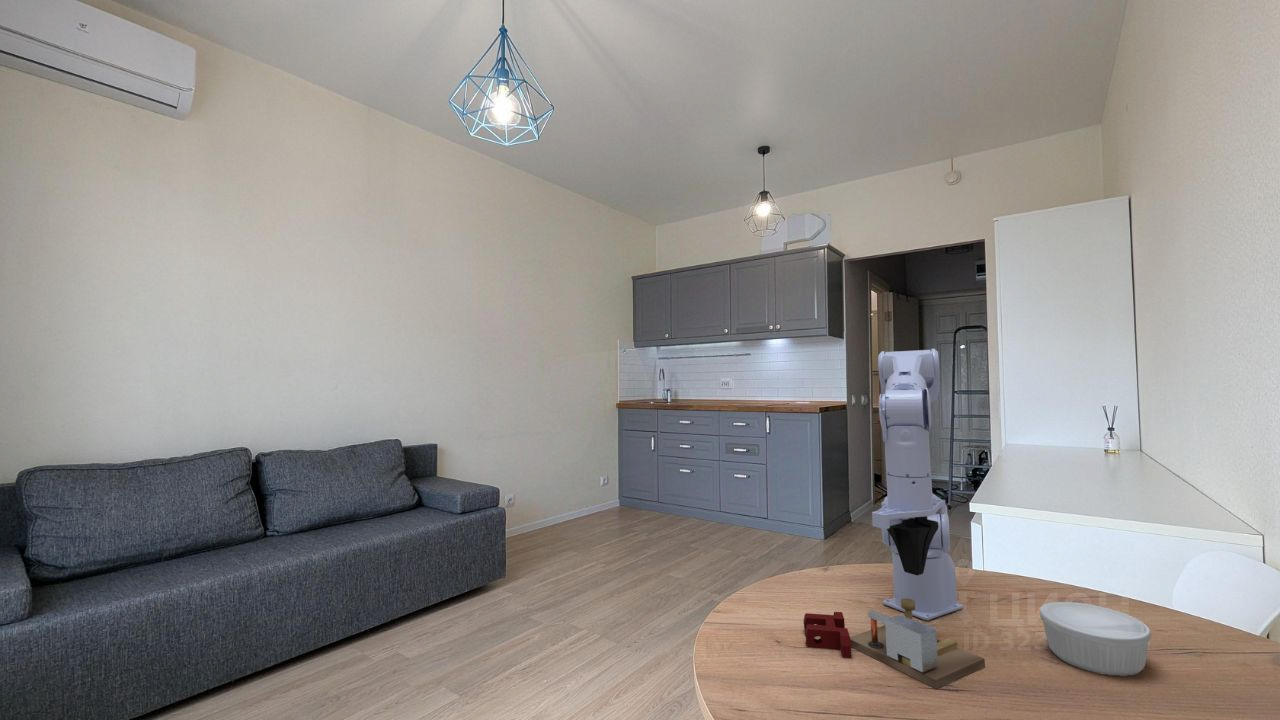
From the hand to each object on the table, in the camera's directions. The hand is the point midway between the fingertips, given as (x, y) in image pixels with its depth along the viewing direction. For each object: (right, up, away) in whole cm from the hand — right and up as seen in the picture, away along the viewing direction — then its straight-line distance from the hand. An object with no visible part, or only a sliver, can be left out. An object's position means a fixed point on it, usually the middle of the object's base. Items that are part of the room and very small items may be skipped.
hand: (913, 572), depth 76 cm
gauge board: (-2, -10, -3) cm, 10 cm away
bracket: (-12, -11, +2) cm, 16 cm away
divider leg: (-5, -8, -6) cm, 11 cm away
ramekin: (+21, -9, -5) cm, 24 cm away
